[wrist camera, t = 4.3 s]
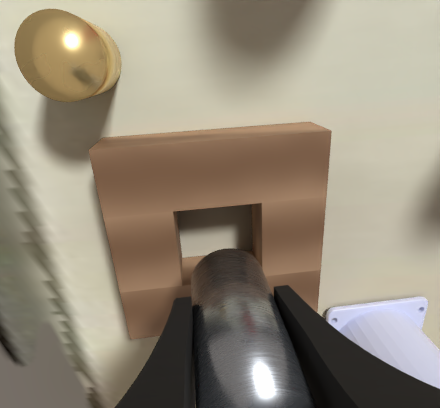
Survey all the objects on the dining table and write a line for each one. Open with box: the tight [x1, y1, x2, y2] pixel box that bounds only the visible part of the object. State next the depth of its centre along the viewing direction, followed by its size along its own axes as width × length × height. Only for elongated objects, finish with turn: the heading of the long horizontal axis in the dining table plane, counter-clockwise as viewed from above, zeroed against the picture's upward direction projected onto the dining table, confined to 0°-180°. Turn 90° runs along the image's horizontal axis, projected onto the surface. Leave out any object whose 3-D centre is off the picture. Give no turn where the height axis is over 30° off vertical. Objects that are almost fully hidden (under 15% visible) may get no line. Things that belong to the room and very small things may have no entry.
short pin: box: [14, 9, 121, 102], centre depth 15 cm, size 3×3×4 cm
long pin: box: [191, 249, 318, 408], centre depth 12 cm, size 3×3×7 cm
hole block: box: [88, 122, 331, 339], centre depth 20 cm, size 12×12×3 cm
